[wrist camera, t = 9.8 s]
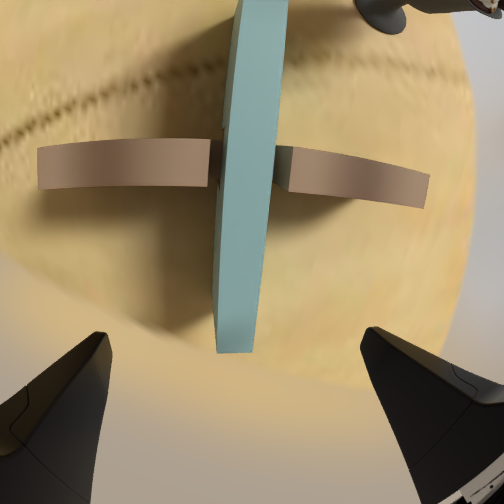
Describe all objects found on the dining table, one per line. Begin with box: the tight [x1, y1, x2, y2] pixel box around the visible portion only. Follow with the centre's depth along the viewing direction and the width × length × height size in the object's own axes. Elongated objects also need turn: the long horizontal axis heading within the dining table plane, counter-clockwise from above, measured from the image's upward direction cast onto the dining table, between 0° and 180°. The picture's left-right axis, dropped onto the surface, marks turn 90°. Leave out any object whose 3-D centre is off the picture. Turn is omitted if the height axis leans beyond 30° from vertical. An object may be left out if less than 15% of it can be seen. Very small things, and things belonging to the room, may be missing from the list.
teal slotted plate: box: [212, 0, 289, 353], centre depth 14 cm, size 20×2×6 cm, turn 175°
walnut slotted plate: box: [37, 138, 430, 209], centre depth 14 cm, size 20×2×6 cm, turn 85°
